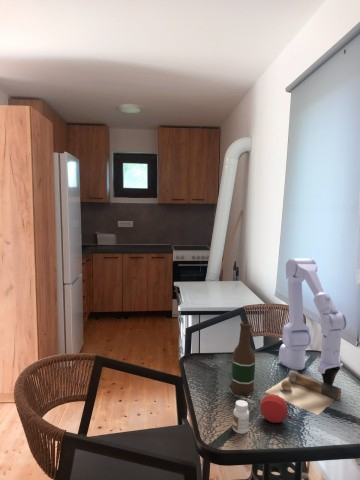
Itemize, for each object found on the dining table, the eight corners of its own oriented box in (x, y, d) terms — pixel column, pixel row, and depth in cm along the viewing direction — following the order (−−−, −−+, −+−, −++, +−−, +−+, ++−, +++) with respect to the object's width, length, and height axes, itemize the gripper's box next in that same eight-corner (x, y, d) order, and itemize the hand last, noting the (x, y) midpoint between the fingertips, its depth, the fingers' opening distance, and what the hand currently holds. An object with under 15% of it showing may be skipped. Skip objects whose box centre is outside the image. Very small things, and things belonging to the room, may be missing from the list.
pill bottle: (230, 424, 102) (232, 399, 101) (245, 424, 103) (247, 398, 102) (234, 434, 98) (236, 407, 97) (250, 434, 98) (251, 407, 97)
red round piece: (274, 400, 100) (278, 383, 107) (252, 409, 104) (257, 392, 110) (291, 423, 100) (294, 405, 106) (269, 431, 103) (273, 413, 110)
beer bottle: (255, 388, 123) (259, 321, 121) (250, 399, 116) (254, 328, 114) (234, 383, 126) (237, 317, 124) (227, 393, 119) (231, 324, 117)
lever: (286, 380, 126) (287, 372, 126) (291, 378, 129) (291, 369, 128) (337, 401, 114) (338, 391, 114) (341, 397, 116) (341, 387, 116)
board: (264, 396, 119) (265, 381, 118) (289, 380, 131) (290, 366, 130) (317, 420, 106) (318, 404, 106) (339, 399, 118) (340, 385, 118)
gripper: (334, 357, 111) (331, 399, 113) (351, 346, 122) (347, 384, 123) (312, 350, 116) (309, 390, 117) (330, 340, 127) (327, 376, 128)
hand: (327, 386), depth 121 cm, fingers closed
